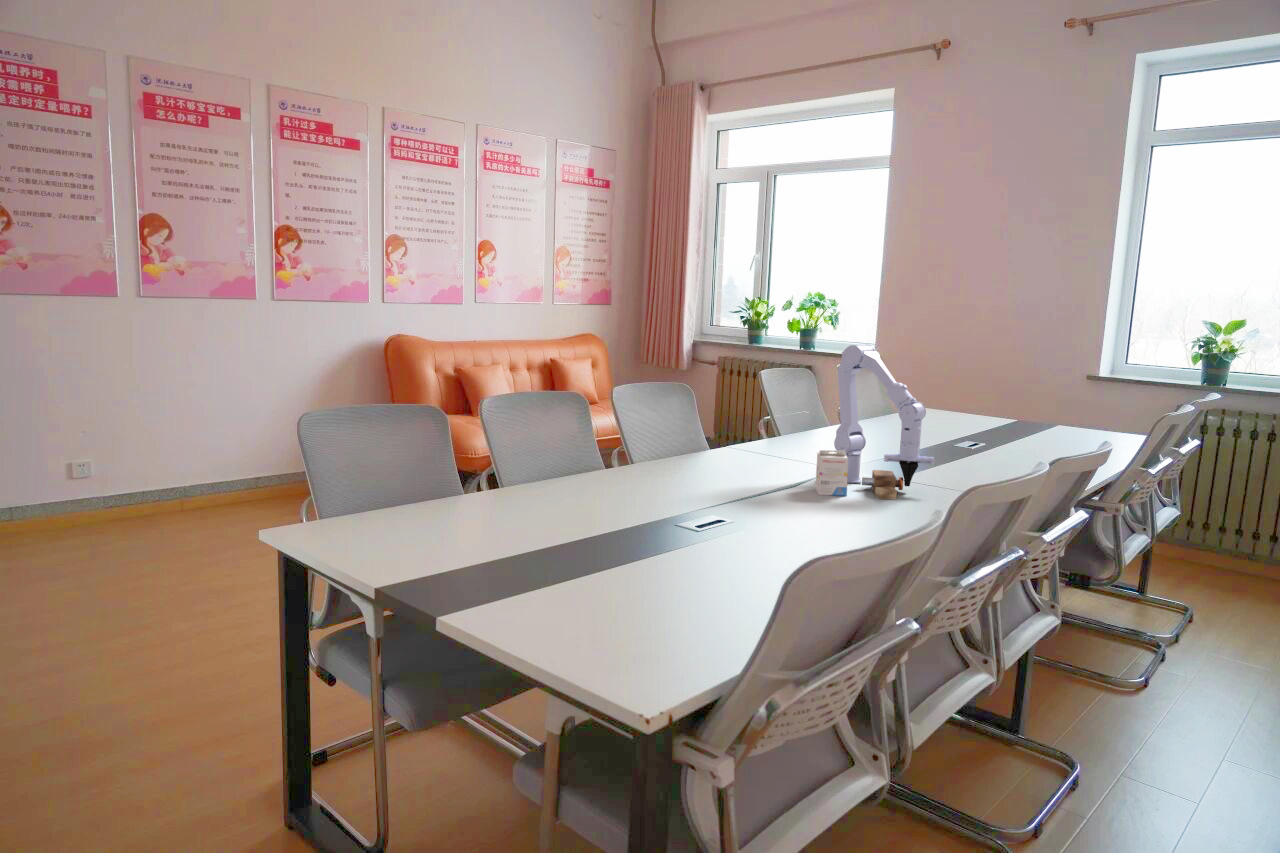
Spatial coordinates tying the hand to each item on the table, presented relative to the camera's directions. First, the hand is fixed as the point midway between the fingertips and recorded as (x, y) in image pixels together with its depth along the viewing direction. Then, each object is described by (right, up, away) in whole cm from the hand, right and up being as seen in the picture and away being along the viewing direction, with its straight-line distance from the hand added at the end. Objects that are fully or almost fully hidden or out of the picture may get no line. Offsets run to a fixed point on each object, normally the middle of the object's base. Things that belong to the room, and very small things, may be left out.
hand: (906, 485), depth 262 cm
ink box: (-24, -2, -2) cm, 24 cm away
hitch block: (-7, -2, +2) cm, 7 cm away
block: (-9, -3, -7) cm, 12 cm away
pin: (-7, -1, +2) cm, 8 cm away
